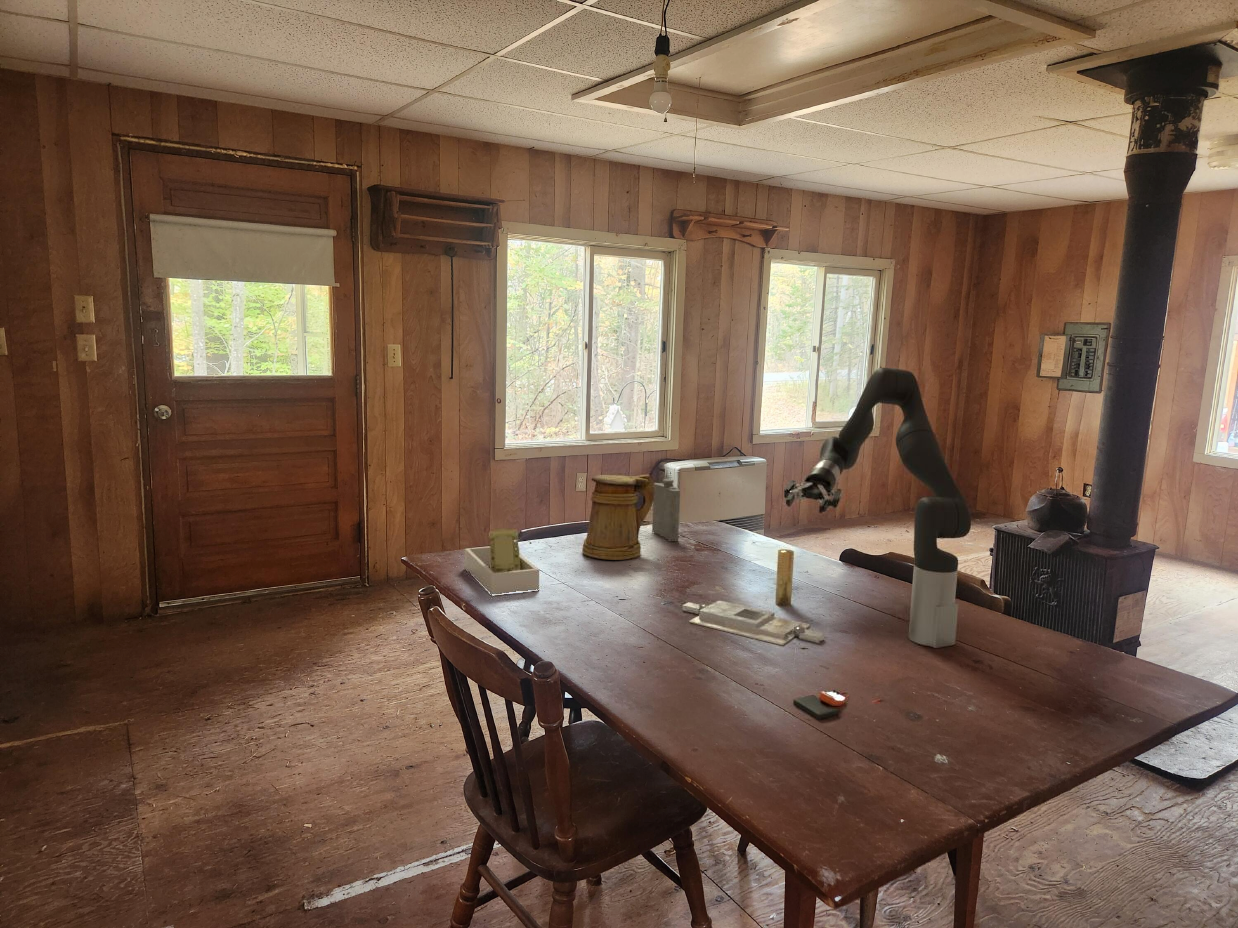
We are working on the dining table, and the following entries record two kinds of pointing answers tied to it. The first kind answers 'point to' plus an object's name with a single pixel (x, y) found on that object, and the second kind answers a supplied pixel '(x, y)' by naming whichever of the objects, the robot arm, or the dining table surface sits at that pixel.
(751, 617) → the peg-in-hole plate
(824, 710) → the multimeter
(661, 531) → the hip flask
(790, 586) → the pin
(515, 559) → the mechanical component
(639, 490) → the tankard
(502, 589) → the parts tray
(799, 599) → the dining table surface
